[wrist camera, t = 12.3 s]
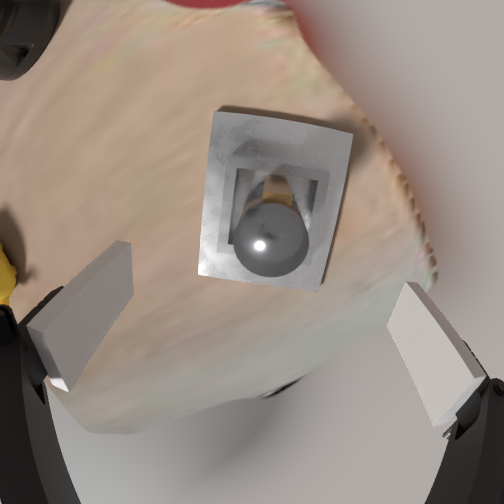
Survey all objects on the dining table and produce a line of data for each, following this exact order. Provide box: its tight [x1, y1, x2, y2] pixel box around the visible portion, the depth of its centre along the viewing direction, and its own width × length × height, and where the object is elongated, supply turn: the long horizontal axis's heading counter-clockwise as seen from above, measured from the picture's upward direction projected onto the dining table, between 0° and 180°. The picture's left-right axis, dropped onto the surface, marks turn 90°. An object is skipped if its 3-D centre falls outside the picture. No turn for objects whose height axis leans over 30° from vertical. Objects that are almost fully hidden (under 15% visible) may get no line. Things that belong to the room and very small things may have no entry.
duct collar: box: [198, 111, 353, 292], centre depth 28 cm, size 18×14×4 cm
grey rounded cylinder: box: [233, 176, 309, 277], centre depth 24 cm, size 5×6×10 cm
